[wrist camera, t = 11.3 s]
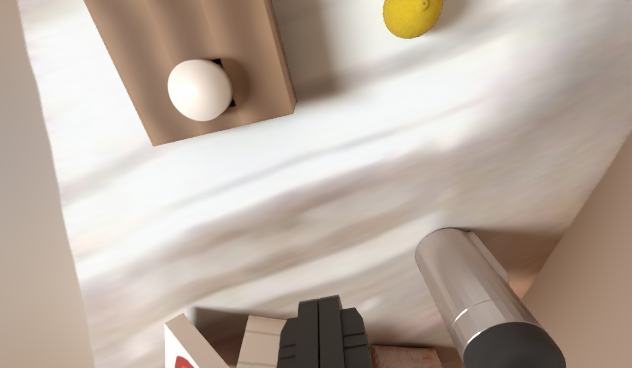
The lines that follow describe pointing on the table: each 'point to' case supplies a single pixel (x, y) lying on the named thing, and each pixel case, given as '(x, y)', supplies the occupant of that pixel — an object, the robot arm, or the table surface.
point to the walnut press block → (196, 43)
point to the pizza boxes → (203, 361)
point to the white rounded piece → (200, 89)
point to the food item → (404, 357)
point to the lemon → (411, 16)
